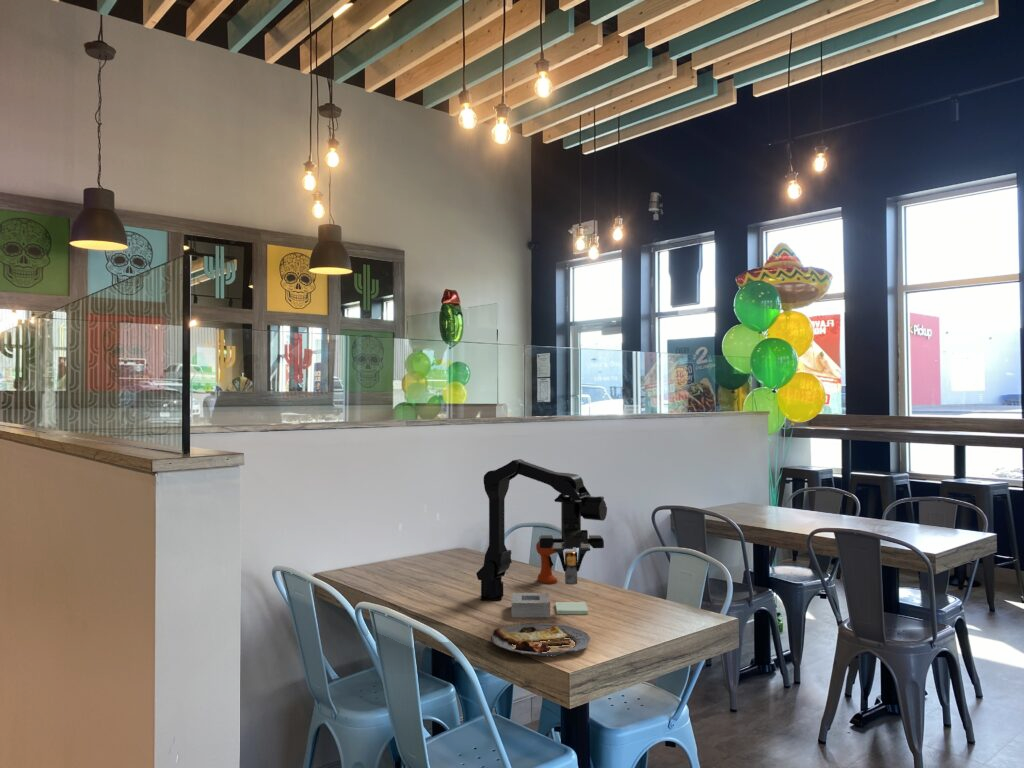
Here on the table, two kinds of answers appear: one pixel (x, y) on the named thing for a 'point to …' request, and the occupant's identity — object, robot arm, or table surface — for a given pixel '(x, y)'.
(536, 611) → the block
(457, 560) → the table surface
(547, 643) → the food plate
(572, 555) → the gold and grey cylinder
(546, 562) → the toy drill
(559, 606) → the green mat
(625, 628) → the table surface
